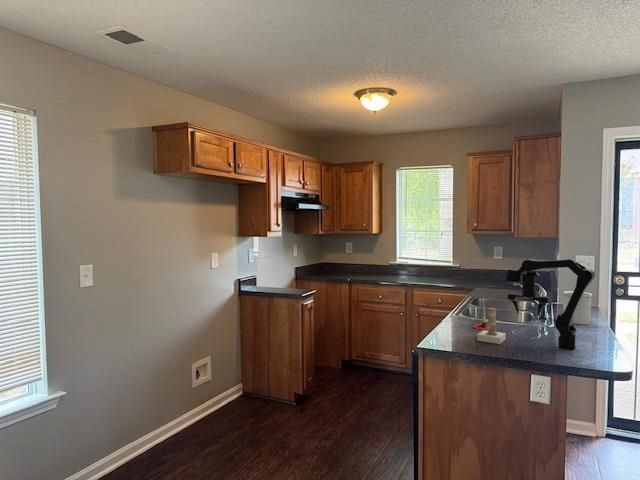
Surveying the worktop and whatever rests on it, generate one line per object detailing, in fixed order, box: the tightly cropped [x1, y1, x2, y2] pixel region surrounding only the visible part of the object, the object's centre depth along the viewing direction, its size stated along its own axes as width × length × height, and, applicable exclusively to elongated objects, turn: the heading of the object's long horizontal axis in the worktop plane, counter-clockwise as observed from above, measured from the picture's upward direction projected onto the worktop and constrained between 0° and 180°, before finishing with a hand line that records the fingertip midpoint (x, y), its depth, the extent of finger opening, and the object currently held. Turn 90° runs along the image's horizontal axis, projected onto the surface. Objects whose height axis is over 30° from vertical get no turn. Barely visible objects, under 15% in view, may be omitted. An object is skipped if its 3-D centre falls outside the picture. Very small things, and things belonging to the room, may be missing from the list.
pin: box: [487, 307, 497, 336], centre depth 220 cm, size 4×4×16 cm
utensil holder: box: [562, 290, 593, 325], centre depth 259 cm, size 15×15×18 cm
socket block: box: [476, 330, 507, 345], centre depth 220 cm, size 11×11×3 cm
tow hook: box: [472, 304, 488, 331], centre depth 244 cm, size 8×13×9 cm
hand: (527, 314), depth 219 cm, fingers open, 9 cm apart
